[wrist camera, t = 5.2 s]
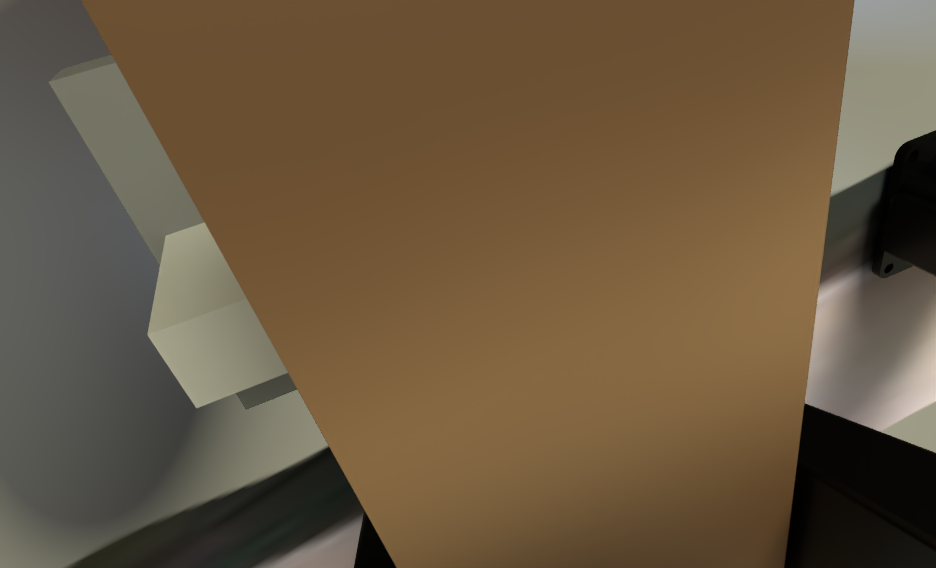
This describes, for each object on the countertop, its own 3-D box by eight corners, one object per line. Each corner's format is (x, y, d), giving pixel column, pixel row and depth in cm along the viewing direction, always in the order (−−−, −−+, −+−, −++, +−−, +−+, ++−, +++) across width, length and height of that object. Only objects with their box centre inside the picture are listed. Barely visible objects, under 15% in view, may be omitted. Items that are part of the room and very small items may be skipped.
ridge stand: (534, -66, 16) (673, -64, 11) (575, 251, 21) (679, 345, 17) (63, 68, 14) (-23, 144, 9) (244, 379, 19) (251, 530, 15)
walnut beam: (639, 582, 15) (759, 769, 11) (489, 659, 14) (570, 880, 11) (522, -303, 6) (930, -619, 2) (88, -198, 5) (-158, -431, 2)
